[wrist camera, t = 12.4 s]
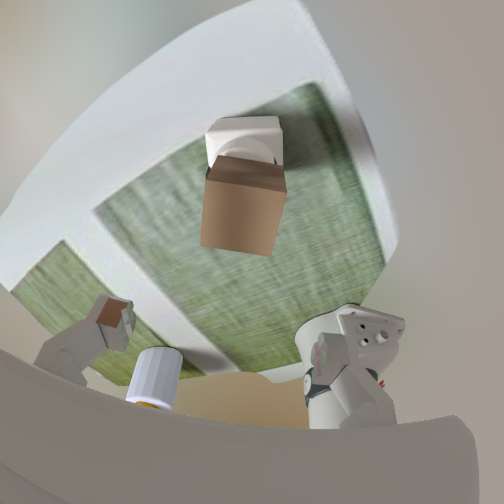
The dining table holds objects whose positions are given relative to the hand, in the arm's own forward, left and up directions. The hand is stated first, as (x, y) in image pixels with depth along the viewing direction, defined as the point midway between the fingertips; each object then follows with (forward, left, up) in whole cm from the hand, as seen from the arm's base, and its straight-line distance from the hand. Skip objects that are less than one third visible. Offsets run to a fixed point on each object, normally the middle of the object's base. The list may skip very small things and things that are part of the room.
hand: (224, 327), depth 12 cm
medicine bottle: (0, 0, -26) cm, 26 cm away
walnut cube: (0, 0, -14) cm, 14 cm away
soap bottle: (+13, +49, -26) cm, 57 cm away
